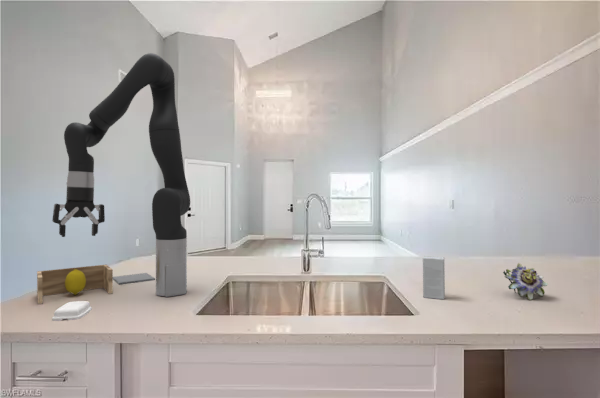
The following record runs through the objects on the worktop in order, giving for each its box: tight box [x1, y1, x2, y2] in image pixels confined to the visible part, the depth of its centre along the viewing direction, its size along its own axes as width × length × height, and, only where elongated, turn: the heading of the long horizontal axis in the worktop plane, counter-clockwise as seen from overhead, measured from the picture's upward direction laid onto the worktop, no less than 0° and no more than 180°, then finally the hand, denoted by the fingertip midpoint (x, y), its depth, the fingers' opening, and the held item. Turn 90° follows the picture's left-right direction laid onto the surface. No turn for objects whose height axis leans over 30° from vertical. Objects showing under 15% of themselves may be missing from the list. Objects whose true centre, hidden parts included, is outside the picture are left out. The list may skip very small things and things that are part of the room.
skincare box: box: [422, 255, 446, 300], centre depth 110 cm, size 6×4×12 cm
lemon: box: [65, 269, 86, 296], centre depth 112 cm, size 6×6×8 cm
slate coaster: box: [113, 272, 156, 285], centre depth 134 cm, size 12×12×1 cm
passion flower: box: [502, 262, 549, 301], centre depth 111 cm, size 11×11×12 cm
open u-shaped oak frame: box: [36, 264, 114, 305], centre depth 112 cm, size 11×19×8 cm, turn 127°
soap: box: [51, 300, 92, 322], centre depth 93 cm, size 9×7×3 cm
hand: (78, 236), depth 117 cm, fingers open, 8 cm apart
